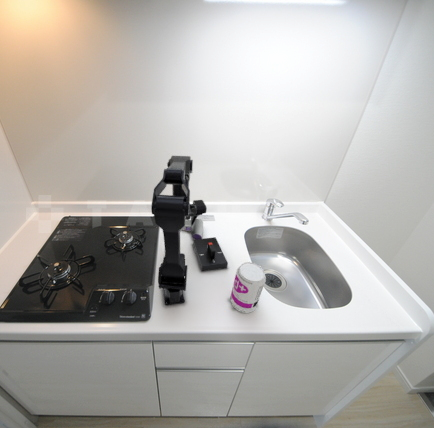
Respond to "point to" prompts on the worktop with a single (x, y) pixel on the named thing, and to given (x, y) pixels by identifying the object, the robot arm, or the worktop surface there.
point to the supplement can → (247, 287)
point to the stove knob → (211, 250)
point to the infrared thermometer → (194, 228)
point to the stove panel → (204, 257)
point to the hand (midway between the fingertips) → (180, 226)
